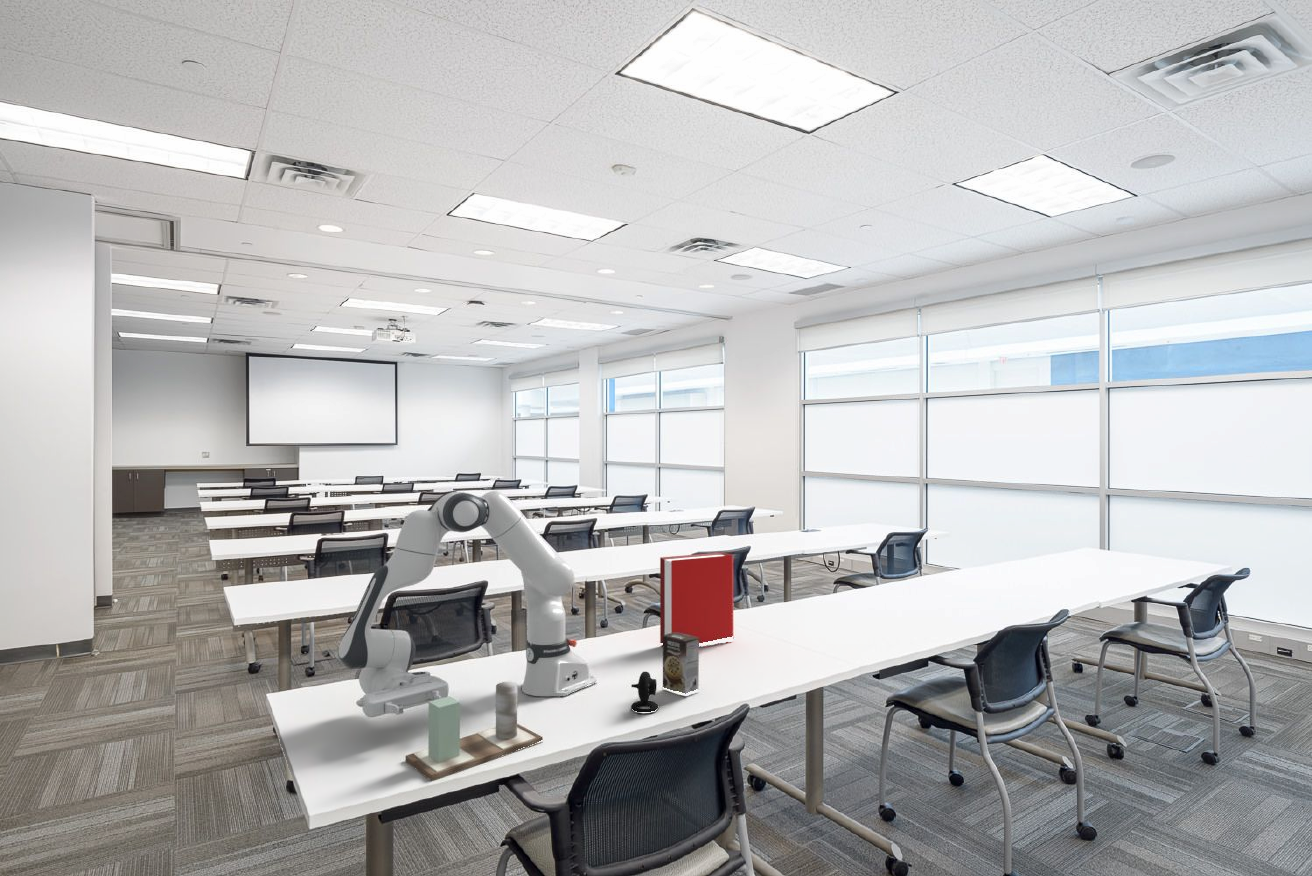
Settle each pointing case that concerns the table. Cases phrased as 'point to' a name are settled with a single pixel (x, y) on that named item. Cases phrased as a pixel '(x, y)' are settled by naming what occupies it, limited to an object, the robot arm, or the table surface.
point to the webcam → (645, 693)
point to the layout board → (482, 740)
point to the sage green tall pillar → (444, 729)
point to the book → (697, 595)
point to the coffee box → (680, 662)
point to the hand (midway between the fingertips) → (419, 705)
